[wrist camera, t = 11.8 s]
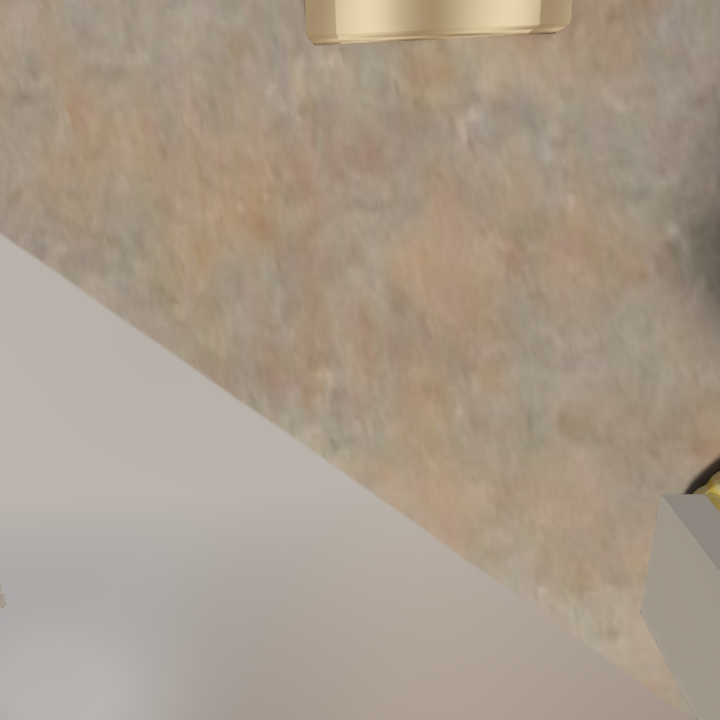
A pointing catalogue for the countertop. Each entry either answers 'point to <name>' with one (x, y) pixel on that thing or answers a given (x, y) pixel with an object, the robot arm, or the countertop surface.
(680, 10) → the countertop surface
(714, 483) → the bread roll
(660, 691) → the countertop surface
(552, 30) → the can rest
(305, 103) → the countertop surface
